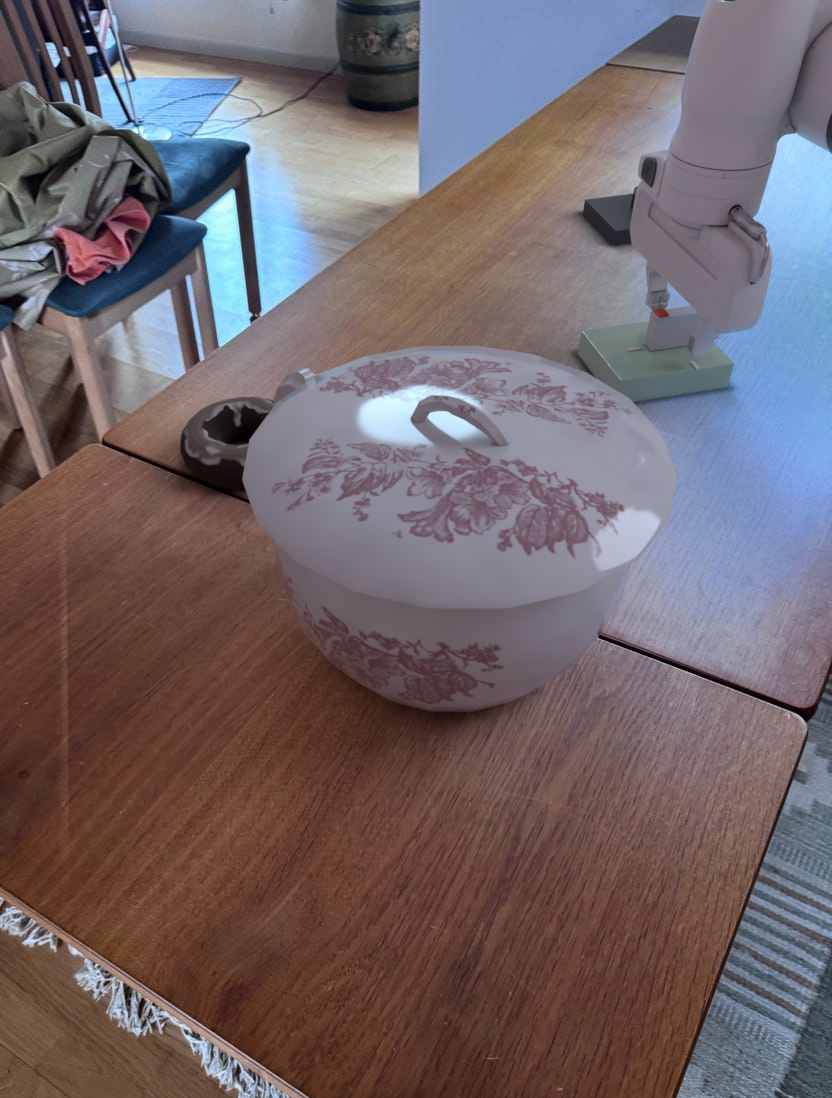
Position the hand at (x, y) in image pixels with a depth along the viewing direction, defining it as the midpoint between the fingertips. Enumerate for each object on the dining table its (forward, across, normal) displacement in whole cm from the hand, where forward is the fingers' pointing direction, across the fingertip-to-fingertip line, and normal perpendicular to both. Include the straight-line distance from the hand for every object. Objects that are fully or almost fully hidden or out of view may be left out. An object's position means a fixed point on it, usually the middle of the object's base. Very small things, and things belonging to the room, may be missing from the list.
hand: (675, 329), depth 91 cm
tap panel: (+4, 0, +2) cm, 5 cm away
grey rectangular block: (+1, 0, 0) cm, 1 cm away
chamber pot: (+5, -30, +33) cm, 45 cm away
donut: (+5, -4, +45) cm, 45 cm away
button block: (+4, +33, -12) cm, 35 cm away
